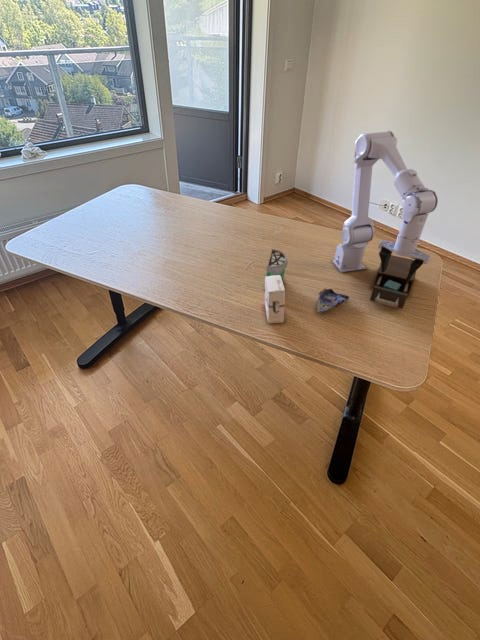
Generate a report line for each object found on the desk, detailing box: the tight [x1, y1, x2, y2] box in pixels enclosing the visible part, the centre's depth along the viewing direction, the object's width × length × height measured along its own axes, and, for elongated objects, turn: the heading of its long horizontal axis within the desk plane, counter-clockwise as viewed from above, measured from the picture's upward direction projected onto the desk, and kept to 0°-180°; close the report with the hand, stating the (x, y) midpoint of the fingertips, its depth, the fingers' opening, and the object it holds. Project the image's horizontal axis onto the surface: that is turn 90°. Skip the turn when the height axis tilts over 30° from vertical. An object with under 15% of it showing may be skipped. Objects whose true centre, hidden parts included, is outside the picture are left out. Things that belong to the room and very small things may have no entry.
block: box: [383, 280, 401, 291], centre depth 110 cm, size 4×4×4 cm
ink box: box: [264, 275, 286, 324], centre depth 103 cm, size 9×5×12 cm, turn 5°
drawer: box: [369, 274, 410, 310], centre depth 110 cm, size 17×10×5 cm, turn 152°
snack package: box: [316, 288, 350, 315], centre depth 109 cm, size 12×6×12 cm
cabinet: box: [372, 254, 418, 298], centre depth 117 cm, size 13×11×7 cm
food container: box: [266, 248, 288, 282], centre depth 116 cm, size 12×6×10 cm, turn 168°
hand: (395, 275), depth 106 cm, fingers open, 7 cm apart
